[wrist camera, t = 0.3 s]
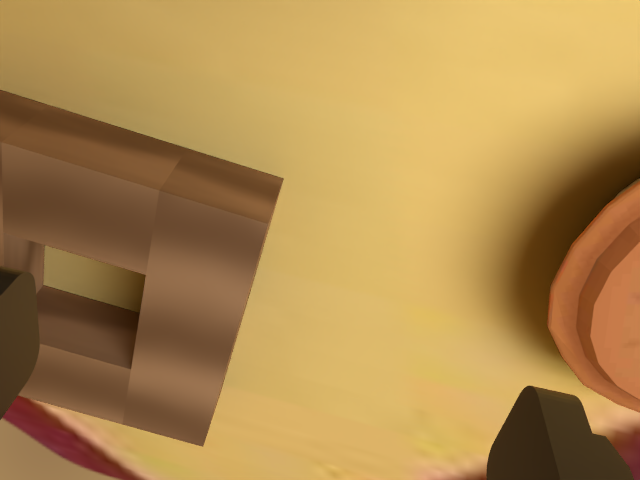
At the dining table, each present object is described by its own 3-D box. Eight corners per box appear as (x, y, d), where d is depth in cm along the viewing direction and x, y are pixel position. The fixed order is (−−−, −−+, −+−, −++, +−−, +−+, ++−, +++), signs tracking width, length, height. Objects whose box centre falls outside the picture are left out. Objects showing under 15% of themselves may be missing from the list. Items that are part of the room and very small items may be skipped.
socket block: (-53, 73, 28) (-115, 106, 24) (283, 178, 29) (268, 224, 25) (-35, 320, 37) (-79, 368, 33) (220, 392, 38) (203, 446, 34)
